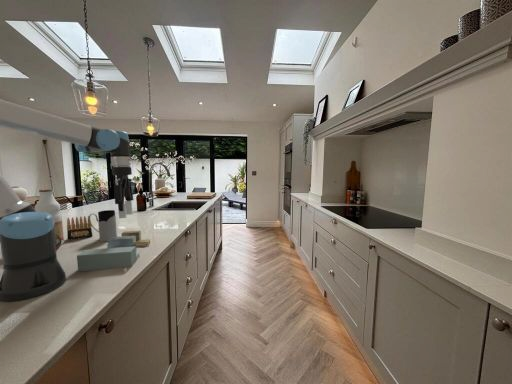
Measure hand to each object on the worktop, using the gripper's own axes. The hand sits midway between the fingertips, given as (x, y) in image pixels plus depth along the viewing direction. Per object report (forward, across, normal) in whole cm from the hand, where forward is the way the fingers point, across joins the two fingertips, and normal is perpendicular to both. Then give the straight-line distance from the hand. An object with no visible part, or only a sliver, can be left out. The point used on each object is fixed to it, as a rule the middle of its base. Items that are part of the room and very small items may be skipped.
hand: (126, 215), depth 102 cm
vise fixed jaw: (+15, -17, 0) cm, 23 cm away
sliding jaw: (+16, +6, +1) cm, 17 cm away
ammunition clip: (+16, +23, +33) cm, 43 cm away
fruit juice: (+15, +12, +40) cm, 44 cm away
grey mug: (+16, +19, +20) cm, 32 cm away
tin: (+15, -1, +35) cm, 38 cm away
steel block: (+16, -5, +1) cm, 17 cm away
